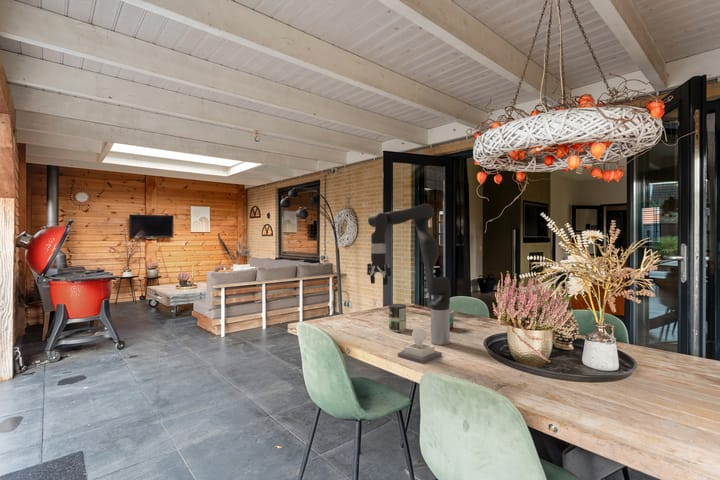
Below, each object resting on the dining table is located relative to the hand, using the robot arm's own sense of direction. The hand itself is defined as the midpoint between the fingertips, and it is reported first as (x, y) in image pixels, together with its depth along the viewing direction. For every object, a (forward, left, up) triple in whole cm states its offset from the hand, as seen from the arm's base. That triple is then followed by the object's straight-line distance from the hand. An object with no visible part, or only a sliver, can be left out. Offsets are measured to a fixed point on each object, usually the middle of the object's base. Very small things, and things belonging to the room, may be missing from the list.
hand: (378, 284), depth 188 cm
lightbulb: (+24, +13, -29) cm, 39 cm away
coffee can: (-25, +16, -30) cm, 42 cm away
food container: (-19, +45, -30) cm, 58 cm away
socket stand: (+24, +13, -30) cm, 41 cm away
